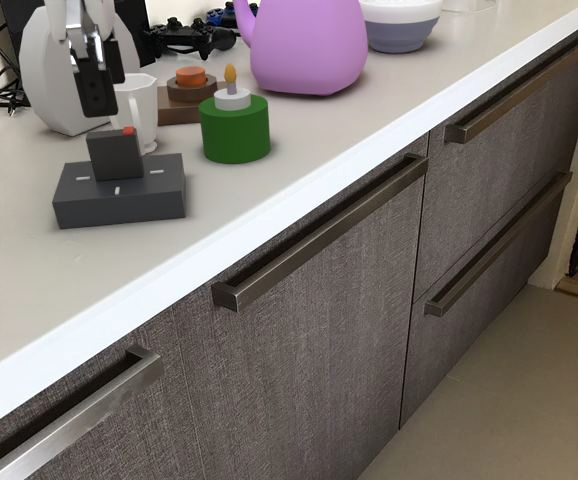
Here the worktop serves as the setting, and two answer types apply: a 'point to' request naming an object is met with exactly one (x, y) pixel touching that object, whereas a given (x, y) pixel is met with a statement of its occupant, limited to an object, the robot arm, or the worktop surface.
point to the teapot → (304, 44)
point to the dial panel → (120, 194)
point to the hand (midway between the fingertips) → (106, 98)
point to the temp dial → (115, 154)
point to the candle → (234, 124)
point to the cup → (138, 108)
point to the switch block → (184, 100)
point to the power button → (190, 76)
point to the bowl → (399, 23)
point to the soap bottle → (62, 75)
